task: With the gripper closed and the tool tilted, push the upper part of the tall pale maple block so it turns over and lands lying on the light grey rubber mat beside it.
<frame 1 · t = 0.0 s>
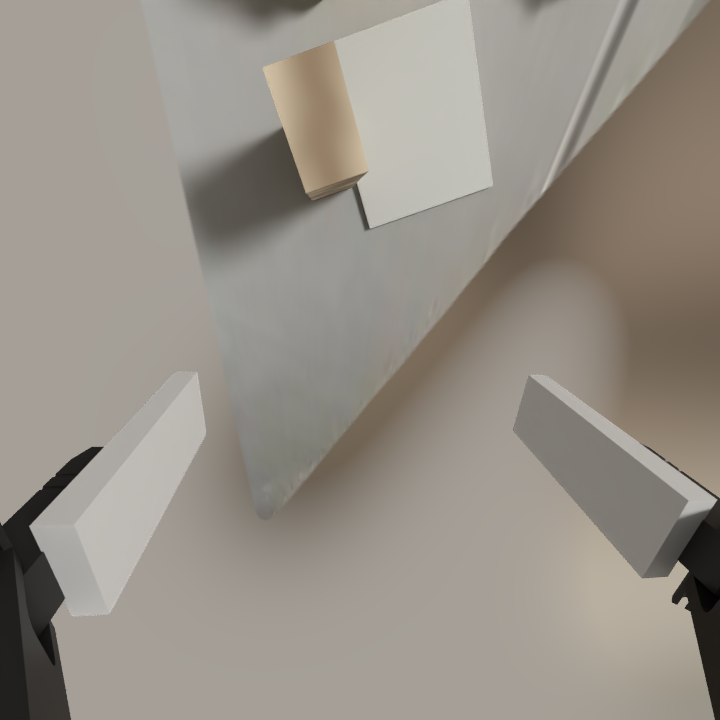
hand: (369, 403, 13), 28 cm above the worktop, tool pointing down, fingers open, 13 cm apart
maple block: (320, 157, 34), on the worktop
rubber mat: (412, 124, 33), on the worktop
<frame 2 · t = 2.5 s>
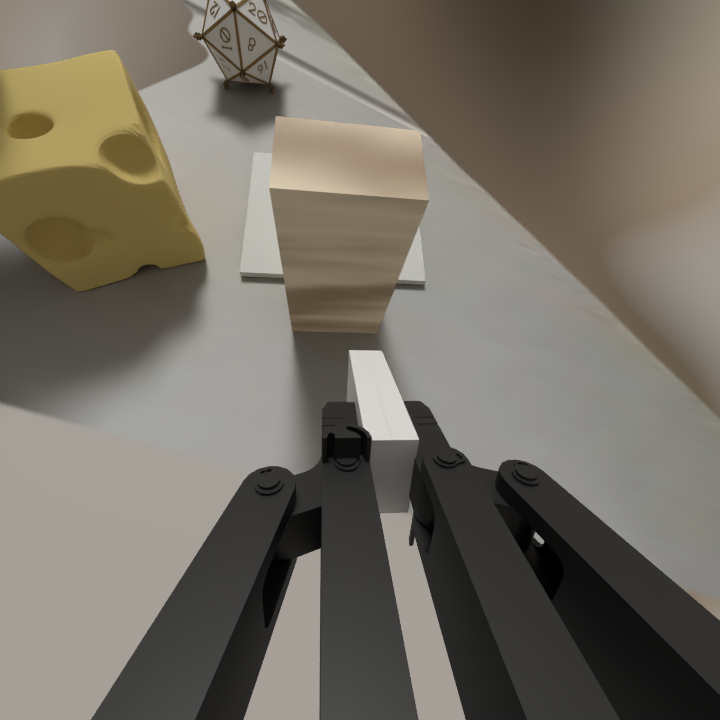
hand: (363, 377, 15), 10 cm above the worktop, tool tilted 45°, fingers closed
maple block: (335, 308, 28), on the worktop
rubber mat: (335, 218, 32), on the worktop
game die: (250, 84, 37), on the worktop
cheese: (130, 233, 29), on the worktop
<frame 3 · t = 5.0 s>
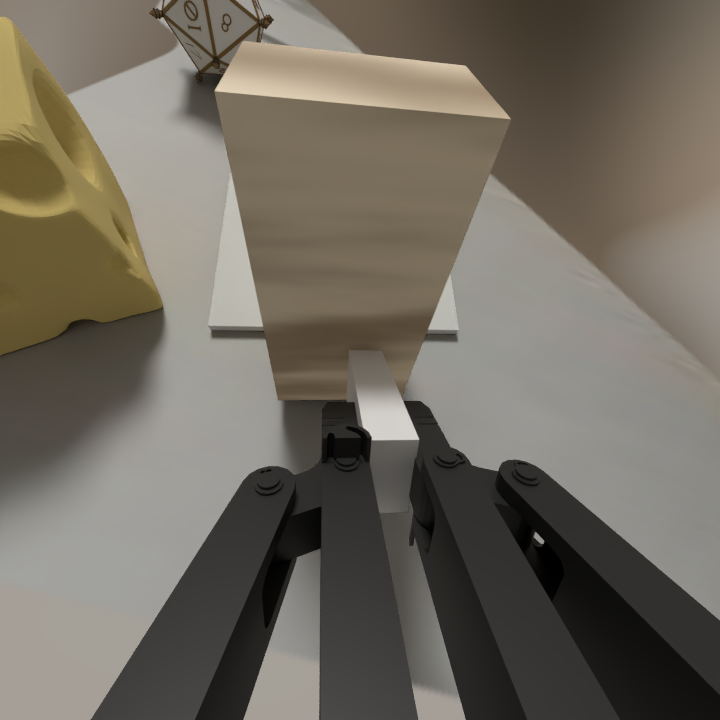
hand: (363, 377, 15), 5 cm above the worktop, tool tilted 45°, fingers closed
maple block: (339, 367, 20), point 1 cm above the worktop, tilted 15°
rubber mat: (337, 245, 24), on the worktop
game die: (230, 77, 30), on the worktop
cheese: (63, 273, 22), on the worktop
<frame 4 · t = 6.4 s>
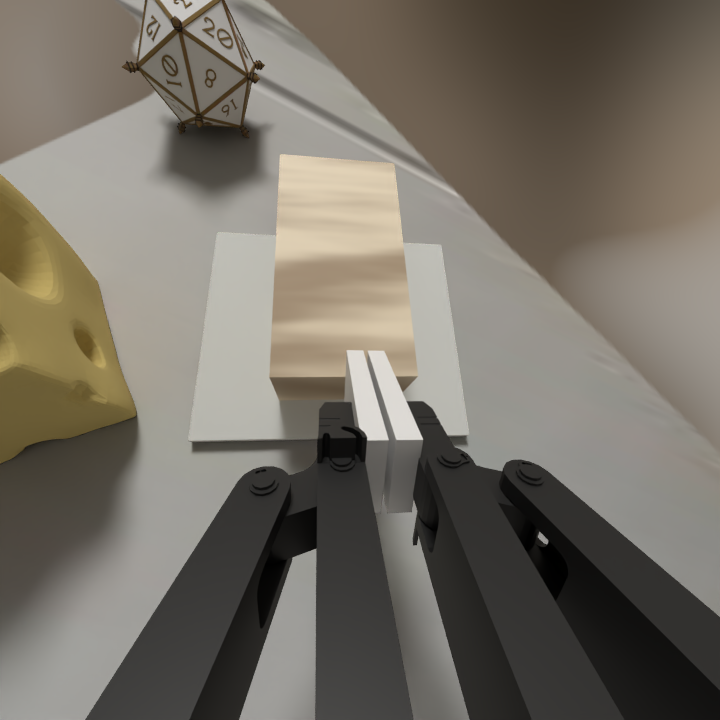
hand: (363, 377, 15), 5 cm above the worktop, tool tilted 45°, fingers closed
maple block: (342, 389, 18), point 3 cm above the worktop, tilted 90°, touching gripper
rubber mat: (334, 330, 22), on the worktop
game die: (216, 125, 27), on the worktop
cheese: (22, 373, 19), on the worktop
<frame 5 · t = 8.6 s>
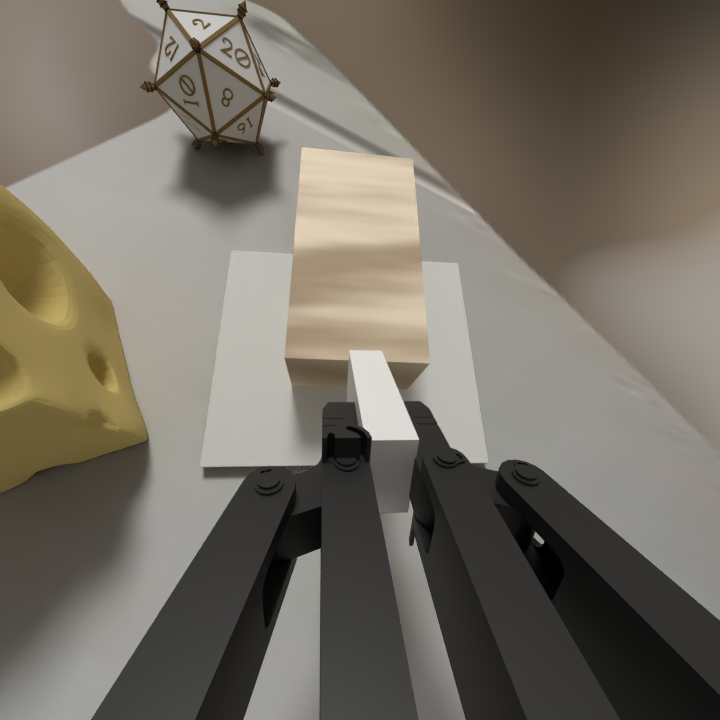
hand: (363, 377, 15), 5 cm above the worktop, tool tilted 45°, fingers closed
maple block: (354, 375, 18), point 3 cm above the worktop, tilted 90°, touching rubber mat
rubber mat: (349, 352, 21), on the worktop
game die: (231, 142, 27), on the worktop
cheese: (34, 394, 19), on the worktop
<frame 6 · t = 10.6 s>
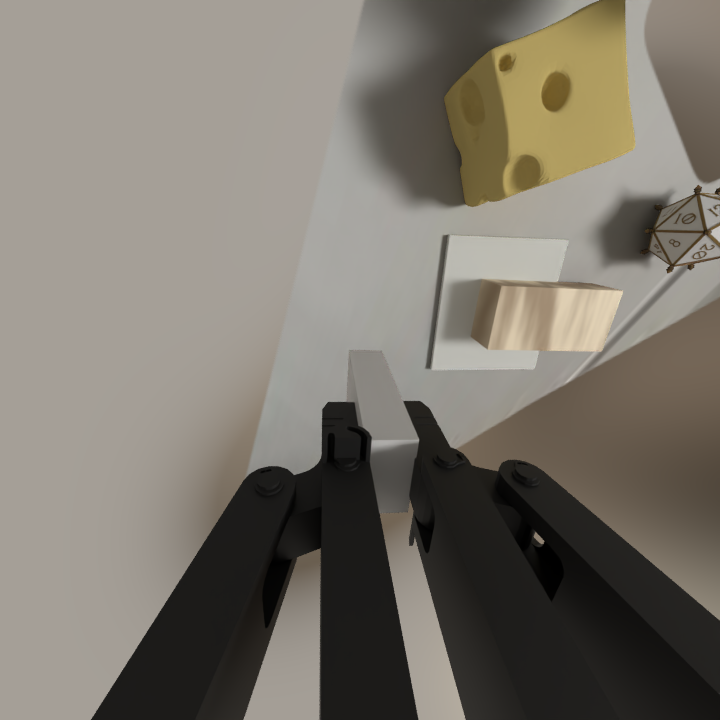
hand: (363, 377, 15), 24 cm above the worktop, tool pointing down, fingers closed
maple block: (484, 313, 37), point 3 cm above the worktop, tilted 90°, touching rubber mat
rubber mat: (493, 307, 40), on the worktop
game die: (657, 229, 39), on the worktop
cheese: (499, 133, 33), on the worktop
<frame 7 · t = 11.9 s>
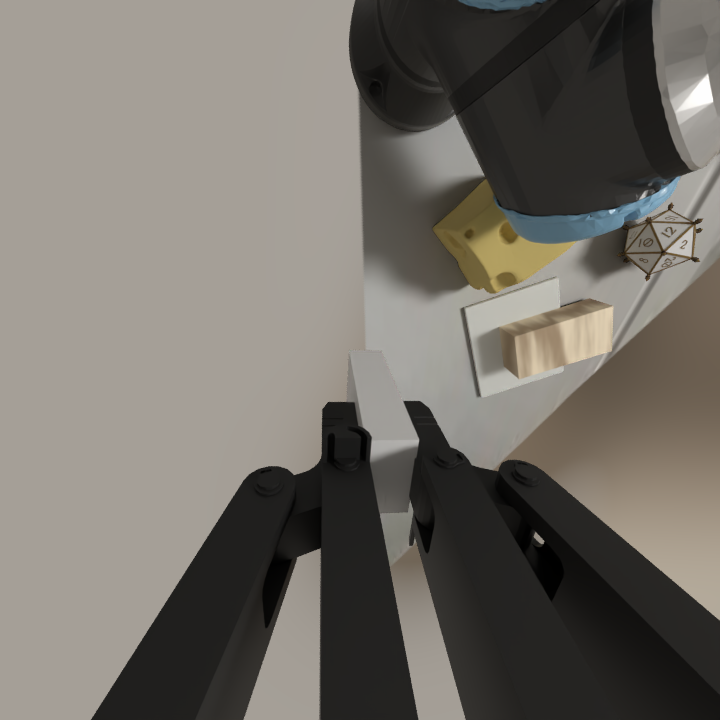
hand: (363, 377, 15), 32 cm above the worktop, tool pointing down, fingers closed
maple block: (508, 352, 49), point 3 cm above the worktop, tilted 90°, touching rubber mat
rubber mat: (515, 340, 52), on the worktop
game die: (632, 240, 48), on the worktop
cheese: (479, 230, 45), on the worktop
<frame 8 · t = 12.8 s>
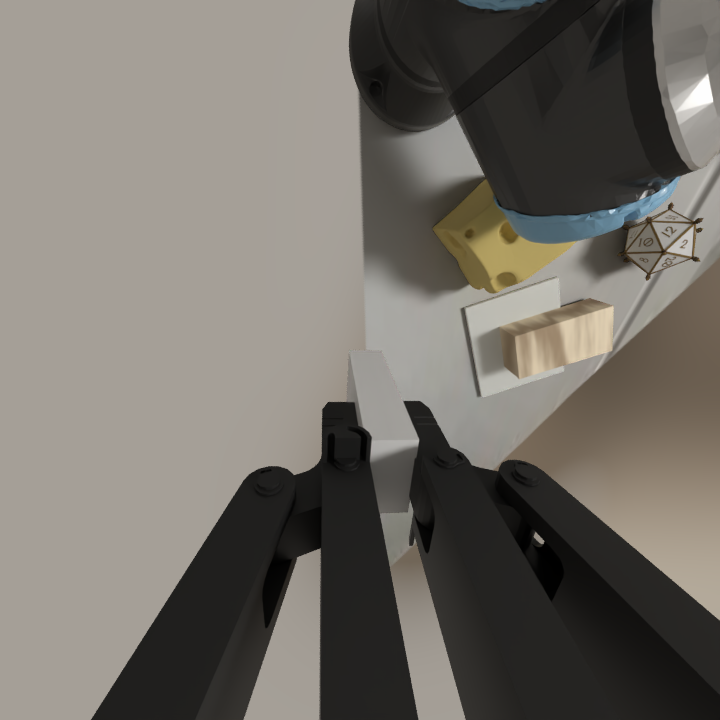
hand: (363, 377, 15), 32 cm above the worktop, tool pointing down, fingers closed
maple block: (509, 352, 49), point 3 cm above the worktop, tilted 90°, touching rubber mat
rubber mat: (515, 340, 52), on the worktop
game die: (632, 240, 48), on the worktop
cheese: (479, 230, 45), on the worktop
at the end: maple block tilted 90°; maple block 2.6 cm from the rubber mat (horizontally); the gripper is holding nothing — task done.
